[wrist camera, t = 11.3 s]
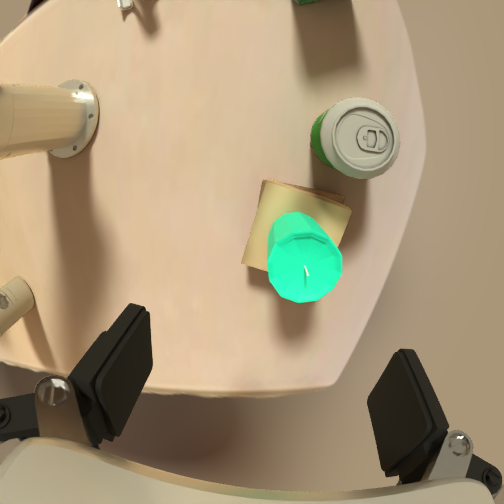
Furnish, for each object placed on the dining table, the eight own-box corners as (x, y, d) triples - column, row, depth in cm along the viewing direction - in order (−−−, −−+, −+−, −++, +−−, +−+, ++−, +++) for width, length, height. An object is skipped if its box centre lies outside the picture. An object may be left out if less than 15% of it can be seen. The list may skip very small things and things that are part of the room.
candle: (310, 203, 31) (333, 221, 19) (328, 252, 32) (357, 295, 21) (259, 223, 32) (253, 252, 20) (279, 271, 33) (283, 322, 22)
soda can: (365, 171, 34) (400, 185, 23) (307, 165, 34) (319, 176, 23) (369, 114, 31) (406, 104, 20) (310, 106, 32) (323, 89, 21)
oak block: (244, 253, 37) (240, 263, 34) (267, 178, 33) (266, 181, 30) (317, 276, 37) (320, 287, 34) (346, 205, 33) (352, 211, 31)
